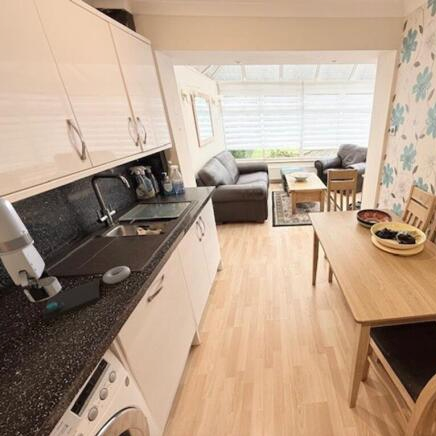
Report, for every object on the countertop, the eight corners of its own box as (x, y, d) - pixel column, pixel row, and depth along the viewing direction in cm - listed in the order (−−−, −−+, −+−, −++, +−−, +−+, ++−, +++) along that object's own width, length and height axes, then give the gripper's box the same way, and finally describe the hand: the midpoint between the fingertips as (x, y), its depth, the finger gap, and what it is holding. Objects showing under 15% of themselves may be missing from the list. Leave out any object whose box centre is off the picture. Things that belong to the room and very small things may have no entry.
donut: (105, 277, 105) (103, 289, 97) (101, 270, 103) (100, 282, 95) (131, 268, 109) (131, 279, 102) (128, 261, 108) (128, 272, 100)
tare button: (47, 311, 84) (45, 308, 83) (48, 307, 86) (47, 304, 85) (57, 307, 85) (55, 305, 85) (58, 303, 87) (56, 301, 87)
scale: (44, 322, 83) (40, 316, 82) (50, 300, 93) (46, 294, 92) (100, 300, 91) (96, 294, 90) (99, 281, 101) (96, 276, 100)
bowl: (25, 301, 72) (17, 291, 70) (51, 285, 78) (45, 275, 77) (42, 304, 70) (35, 294, 69) (68, 287, 76) (62, 278, 75)
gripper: (3, 235, 71) (35, 282, 78) (-19, 262, 58) (21, 315, 65) (37, 227, 75) (64, 272, 82) (23, 250, 62) (57, 301, 69)
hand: (45, 291), depth 74 cm, fingers closed on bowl, 7 cm apart
